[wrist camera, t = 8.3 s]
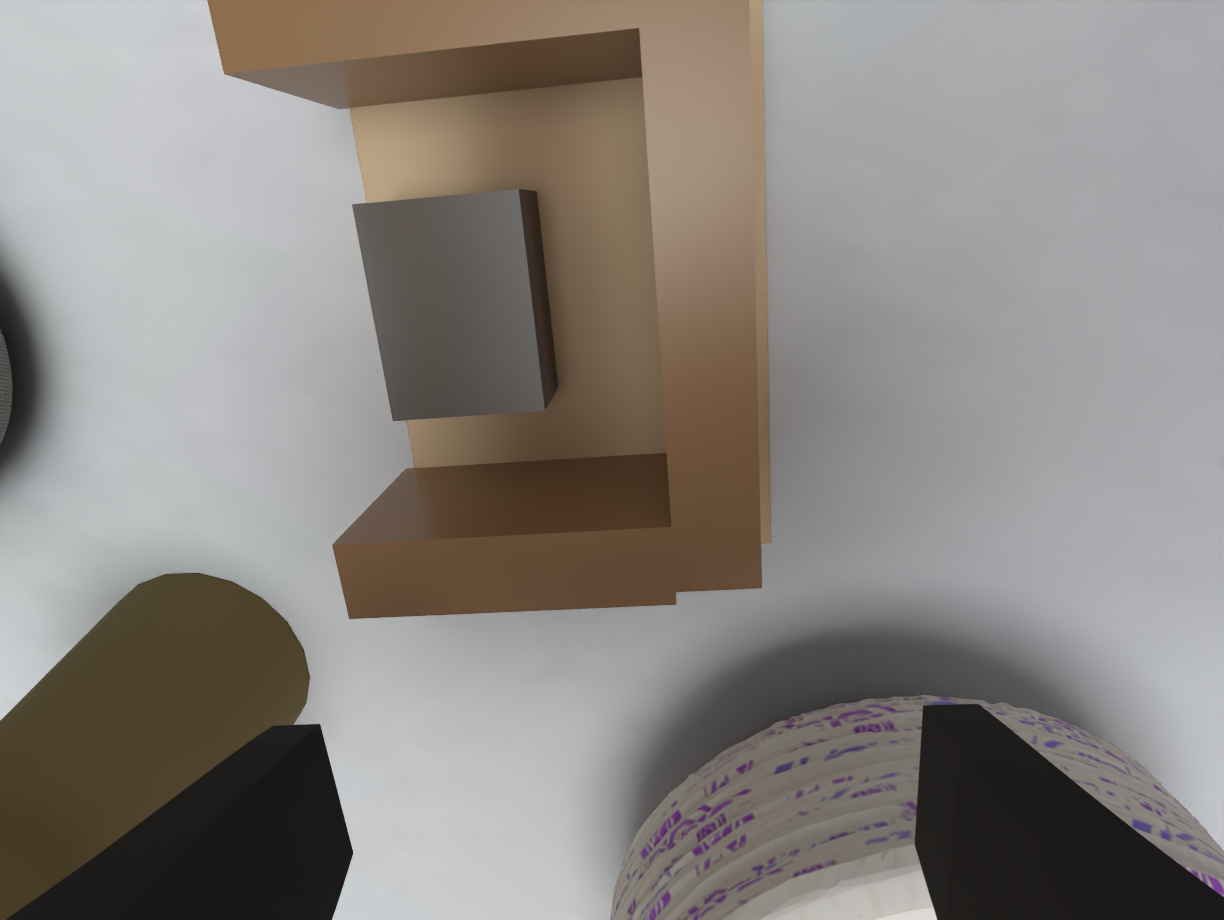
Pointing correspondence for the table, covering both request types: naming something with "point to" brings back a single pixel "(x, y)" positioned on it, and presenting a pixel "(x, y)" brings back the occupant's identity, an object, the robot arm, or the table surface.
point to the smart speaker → (4, 387)
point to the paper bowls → (853, 818)
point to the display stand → (528, 272)
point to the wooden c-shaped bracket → (685, 288)
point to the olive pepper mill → (137, 721)
